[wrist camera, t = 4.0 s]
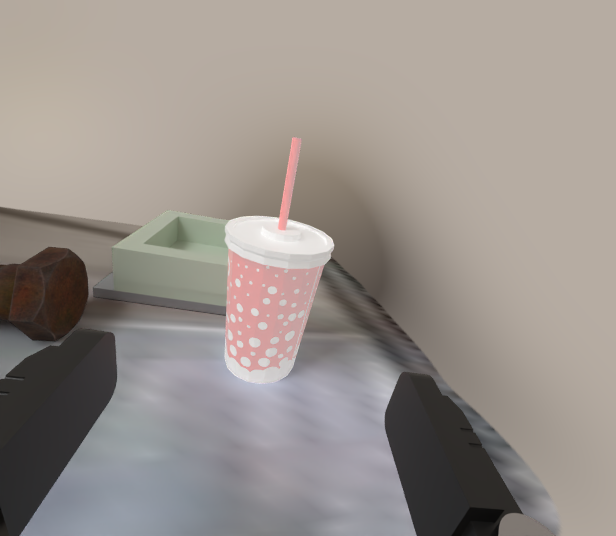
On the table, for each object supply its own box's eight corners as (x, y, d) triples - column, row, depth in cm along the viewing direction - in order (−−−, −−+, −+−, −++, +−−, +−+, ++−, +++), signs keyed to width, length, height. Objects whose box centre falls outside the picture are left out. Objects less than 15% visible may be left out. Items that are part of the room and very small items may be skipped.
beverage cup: (255, 321, 25) (284, 133, 20) (320, 358, 23) (375, 154, 17) (191, 358, 20) (206, 119, 15) (266, 411, 18) (318, 145, 12)
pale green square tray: (93, 296, 24) (89, 243, 22) (163, 237, 37) (163, 200, 35) (277, 322, 26) (286, 274, 24) (282, 257, 38) (289, 223, 37)
